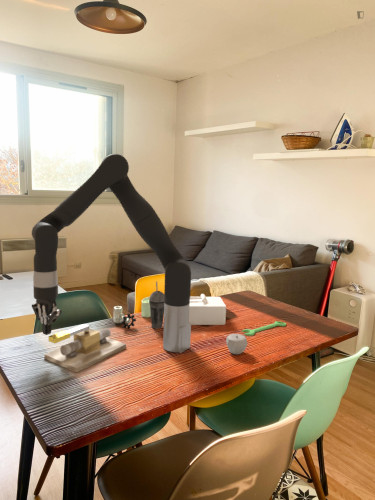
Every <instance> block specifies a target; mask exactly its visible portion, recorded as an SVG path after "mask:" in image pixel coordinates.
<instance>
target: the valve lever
mask: <svg viewBox="0 0 375 500" xmlns="http://www.w3.org/2000/svg"><path fill="white" fill-rule="evenodd" d="M89 329H90V325H89V324H85V323H83V324H80V325H78V326H75V327H73V328H70V329H68V330H62V331H60V332H57V333H54V334H50V335H49V336H48V335H47V336H48V342H50V343H52V344H57V343H59V342H62V341H64V340H68V339H70V338H71V337H72V336H74V335H75V334H78V333H80V332H83V331H84V333H89Z"/></svg>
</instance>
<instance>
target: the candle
mask: <svg viewBox="0 0 375 500" xmlns="http://www.w3.org/2000/svg"><path fill="white" fill-rule="evenodd" d="M149 298H150V296H147V297H143V299H141V317H142V318H151V312H150V304H149Z"/></svg>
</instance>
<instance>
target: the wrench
mask: <svg viewBox="0 0 375 500" xmlns="http://www.w3.org/2000/svg"><path fill="white" fill-rule="evenodd" d="M278 326H280V327H286V326H287V323H286V322H283V321H280V320H279V321H277V320H276V321H274V323H271V324H268V325H263V326H260V327H258V328H253V329H249V328H246V329H242V330H241V331H242V333H243V332H244V334H243V336H249V337H250V336H251V337H252V336H254V335H255V333H258V332H262V331H265V330H268V329H272V328H275V327H278Z"/></svg>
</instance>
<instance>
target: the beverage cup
mask: <svg viewBox="0 0 375 500" xmlns="http://www.w3.org/2000/svg"><path fill="white" fill-rule="evenodd" d="M155 286H156V287H155V288H156V290H155V291H152V293H151V294H150V295H149V297H150V298H149V304H150V312H151V317H150V323H151V325H150V326H151V328H152V329H155V330H156V329H157V330H160V329H161V328H163V325H164V292H162V291H160V290H158V281H157V280H156V281H155Z"/></svg>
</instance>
